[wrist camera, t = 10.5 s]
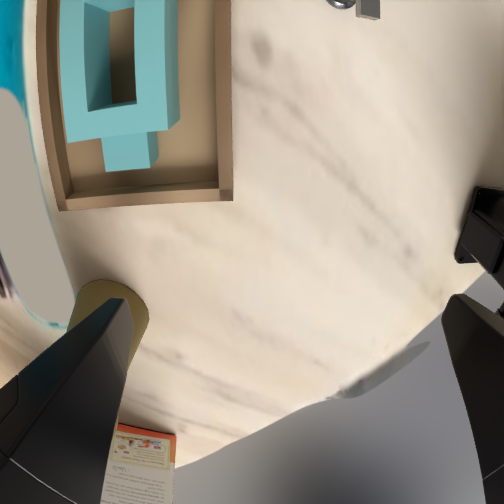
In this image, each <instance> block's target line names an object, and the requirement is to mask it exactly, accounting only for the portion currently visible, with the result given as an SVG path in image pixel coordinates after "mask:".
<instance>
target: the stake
mask: <svg viewBox="0 0 504 504" xmlns="http://www.w3.org/2000/svg"><path fill="white" fill-rule="evenodd" d="M327 2H328V3H329V4H330V5H332V6H333V7H335V8H338V9H348V8H350V7H352V6H353V5H354V4H355V3H356V17H361V18H366V19H371V20H377V19H380V0H327Z"/></svg>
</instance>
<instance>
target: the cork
mask: <svg viewBox="0 0 504 504" xmlns="http://www.w3.org/2000/svg"><path fill="white" fill-rule="evenodd" d="M111 297H119V298H125V299H126V300H127V302H128V305H129V308H130V312H131V315H132V319H133V324H134V329H133V336H132V342H131V348H130V355H129V362H128V368H129V366H130V363H131V361H132V359H133V357H134V354H135V352H136V350H137V348H138V345H139V343H140V341H141V339H142V337H143V335H144V332H145V330H146V328H147V325H148V322H149V313H148V309H147V307H146V305H145V303H144V301H143V300H142V299H141V298H140V297H139V296H138V295H137V294H136V293H135V292H134V291H132V290H131V289H129V288H128V287H126V286H125V285H122V284H119V283H117V282H114V281H109V280H96V281H91V282H89V283H88V284H86V285H84V286H83V287H82V289H81V290H80V292H79V294H78V297H77V300H76V303H75V306H74V309H73V312H72V315H71V318H70V322H69V325H68V328H67V332H68V331H69V330H70V329H72V328H73V327H74V326H75V325H77V324H78V323H79V322H80V321H82V320H83V319H84V318H85V317H86V316H88V315H89V314H90V313H92V312H93V311H94V310H95V309H97V308H98V307H99V306H100V305H102V304H103V303H104V302H105V301H107V300H108V299H109V298H111ZM67 332H66V333H67ZM127 370H128V369H127ZM118 420H119V416H118V415H117V419H116V423H115V428H114V432H113V437H114V435H115V433H116V430H117V426H118ZM113 437H112V439H113Z"/></svg>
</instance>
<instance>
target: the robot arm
mask: <svg viewBox="0 0 504 504" xmlns="http://www.w3.org/2000/svg"><path fill="white" fill-rule="evenodd" d="M479 192H480V194H479ZM455 260H456V261H457V262H458V263H459V264H462V263H477V262H478V263H479V264H480V265H481V266H482V267H483V268H484V269H485V270H486V271H487V273H489V274H490V275H491V276H492V277H493V278H494V279H495V280H496V281H497V282H498V283H499V285H500V286H501V287H502V288H503V289H504V189H502V188H495V187H487V186H477V187H476V188H475V189H474V192H473V196H472V200H471V204H470V208H469V211H468V215H467V219H466V222H465V226H464V229H463V232H462V236H461V239H460V242H459V245H458V248H457V251H456V254H455ZM441 322H442V326H443V330H444V334H445V337H446V341H447V345H448V349H449V352H450V357H451V360H452V364H453V368H454V371H455V374H456V377H457V380H458V383H459V386H460V390H461V393H462V396H463V399H464V403H465V406H466V410H467V413H468V417H469V421H470V424H471V429H472V432H473V437H474V441H475V445H476V449H477V454H478V459H479V464H480V469H481V474H482V479H483V487H484V494H485V501H486V504H504V302H503V303H502V305H501V306H500V308H498V309H497V311H496V312H495V313H493V312H492V311H490V310H489V309H487V308H486V307H484V306H483V305H481V304H480V303H478V302H476V301H475V300H473V299H471V298H470V297H468V296H467V295H465V294H454V295H452V296H451V297H450V299H449V301H448V303H447V305H446V308H445V310H444V312H443V314H442V318H441ZM133 329H134V324H133V319H132V315H131V312H130V308H129V305H128V302H127V300H126V299H125V298H119V297H111V298H109V299H108V300H107V301H105V302H104V303H103V304H102V305H100V306H99V307H98V308H97V309H95V310H94V311H93V312H92V313H90V314H89V315H88V316H86V317H85V318H84V319H83V320H82V321H80V322H79V323H78V324H77V325H75V326H74V327H73V328H72V329H70V330H69V331H68V332H67V333H66V334H64V335H63V336H62V337H61V338H59V339H58V340H57V341H56V342H55V343H53V344H52V345H51V346H50V347H49V348H47V349H46V350H45V351H44V352H43V353H41V354H40V355H39V356H38V357H37V358H36V359H34V360H33V361H32V362H31V363H30V364H29V365H27V366H26V367H25V368H24V369H23V370H22V371H20V372H19V374H18V375H16V376H15V377H13V378H12V379H11V380H10V381H9V382H8V383H7V384H5V385H4V386H3V387H2V388H1V389H0V504H100V502H101V496H102V490H103V484H104V478H105V472H106V467H107V462H108V457H109V452H110V447H111V442H112V437H113V432H114V428H115V423H116V419H117V415H118V410H119V406H120V402H121V398H122V394H123V390H124V385H125V381H126V375H127V369H128V362H129V355H130V348H131V342H132V336H133Z"/></svg>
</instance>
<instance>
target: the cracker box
mask: <svg viewBox="0 0 504 504" xmlns="http://www.w3.org/2000/svg"><path fill="white" fill-rule="evenodd" d="M175 453H176V436H175V435H170V434H164V433H159V432H154V431H149V430H144V429H139V428H135V427H131V426H126V425H122V424H118V426H117V430H116V433H115V435H114V437H113V439H112V442H111V447H110V452H109V457H108V462H107V467H106V472H105V478H104V484H103V490H102V496H101V502H100V504H173V485H174V468H175Z"/></svg>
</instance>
